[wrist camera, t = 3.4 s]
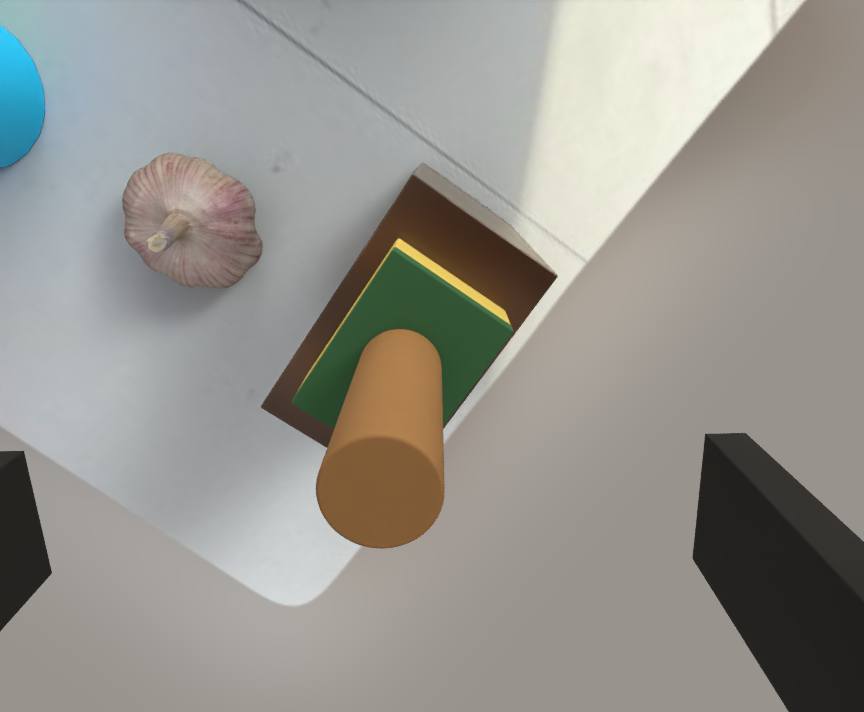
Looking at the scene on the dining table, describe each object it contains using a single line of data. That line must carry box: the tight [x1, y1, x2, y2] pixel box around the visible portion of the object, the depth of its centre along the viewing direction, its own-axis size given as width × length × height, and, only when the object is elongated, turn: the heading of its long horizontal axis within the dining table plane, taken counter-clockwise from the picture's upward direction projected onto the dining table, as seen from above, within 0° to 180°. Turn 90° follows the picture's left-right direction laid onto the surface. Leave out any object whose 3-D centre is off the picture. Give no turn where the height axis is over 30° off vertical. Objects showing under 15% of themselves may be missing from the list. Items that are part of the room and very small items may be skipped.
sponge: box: [292, 239, 514, 548], centre depth 19 cm, size 6×4×11 cm
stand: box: [261, 163, 557, 448], centre depth 31 cm, size 10×6×16 cm, turn 146°
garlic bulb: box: [122, 153, 262, 288], centre depth 34 cm, size 8×7×8 cm
